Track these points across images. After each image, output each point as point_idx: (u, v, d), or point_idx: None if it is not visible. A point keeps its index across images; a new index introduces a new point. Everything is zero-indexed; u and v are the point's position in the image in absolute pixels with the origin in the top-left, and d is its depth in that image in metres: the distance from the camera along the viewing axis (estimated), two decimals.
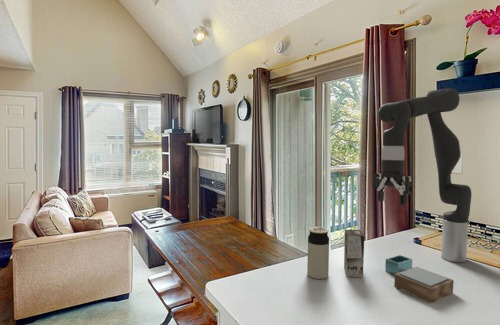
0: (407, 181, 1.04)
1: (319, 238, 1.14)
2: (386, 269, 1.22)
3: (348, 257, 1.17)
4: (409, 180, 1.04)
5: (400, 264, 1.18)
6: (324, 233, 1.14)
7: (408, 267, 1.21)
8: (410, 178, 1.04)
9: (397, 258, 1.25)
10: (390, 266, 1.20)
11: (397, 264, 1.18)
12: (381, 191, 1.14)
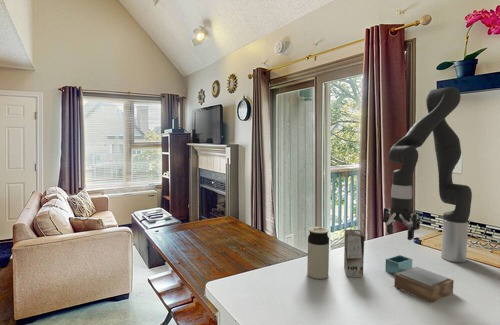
0: (415, 219, 1.15)
1: (319, 238, 1.14)
2: (386, 269, 1.22)
3: (348, 257, 1.17)
4: (416, 218, 1.15)
5: (400, 264, 1.18)
6: (324, 233, 1.14)
7: (408, 267, 1.21)
8: (417, 216, 1.15)
9: (397, 258, 1.25)
10: (390, 266, 1.20)
11: (397, 264, 1.18)
12: (390, 225, 1.25)
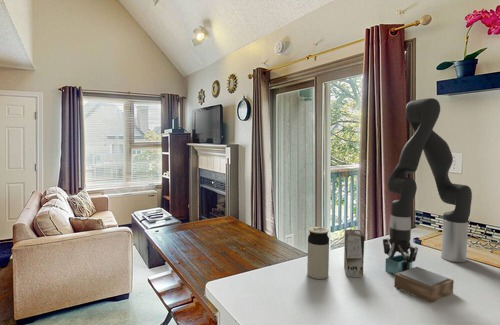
0: (412, 252, 1.16)
1: (319, 238, 1.14)
2: (386, 269, 1.22)
3: (348, 257, 1.17)
4: (414, 252, 1.16)
5: (400, 264, 1.18)
6: (324, 233, 1.14)
7: None
8: (416, 250, 1.16)
9: (397, 258, 1.25)
10: (390, 266, 1.20)
11: (397, 264, 1.18)
12: None
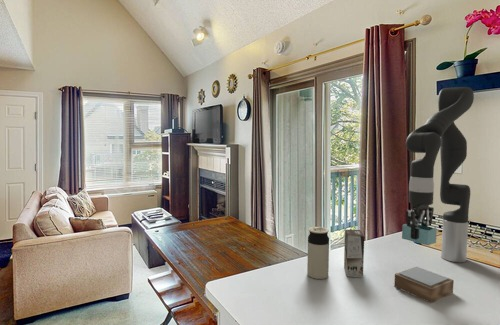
0: None
1: (319, 238, 1.14)
2: None
3: (348, 257, 1.17)
4: (408, 214, 1.04)
5: (406, 227, 1.09)
6: (324, 233, 1.14)
7: (420, 237, 1.04)
8: (409, 213, 1.03)
9: (428, 229, 1.07)
10: None
11: None
12: None
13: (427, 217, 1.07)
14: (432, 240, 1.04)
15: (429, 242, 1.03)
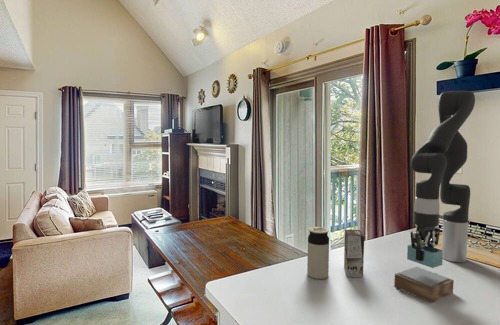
0: None
1: (319, 238, 1.14)
2: None
3: (348, 257, 1.17)
4: (412, 236, 1.03)
5: (411, 248, 1.07)
6: (324, 233, 1.14)
7: (425, 259, 1.03)
8: (414, 235, 1.02)
9: (434, 251, 1.05)
10: None
11: None
12: None
13: (433, 238, 1.05)
14: (438, 262, 1.02)
15: (434, 265, 1.01)
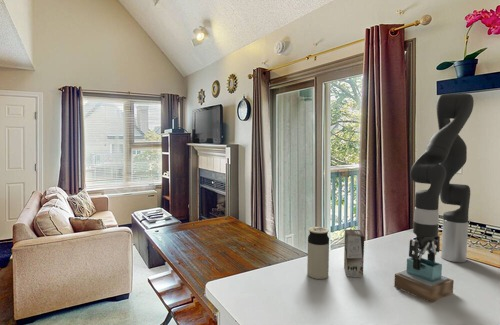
0: None
1: (319, 238, 1.14)
2: None
3: (348, 257, 1.17)
4: (411, 244, 1.03)
5: (410, 261, 1.08)
6: (324, 233, 1.14)
7: (425, 273, 1.03)
8: (413, 242, 1.02)
9: (433, 264, 1.05)
10: None
11: None
12: (430, 254, 1.08)
13: (433, 248, 1.05)
14: (437, 276, 1.03)
15: (434, 279, 1.02)
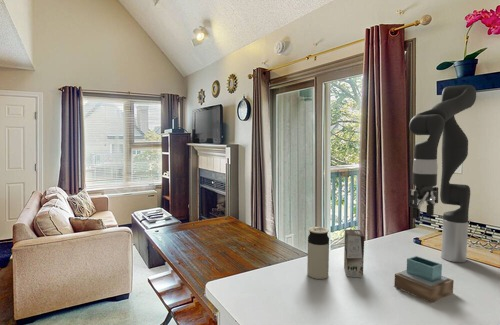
0: None
1: (319, 238, 1.14)
2: None
3: (348, 257, 1.17)
4: (411, 193, 1.05)
5: (410, 261, 1.08)
6: (324, 233, 1.14)
7: (425, 273, 1.03)
8: (413, 192, 1.05)
9: (433, 264, 1.05)
10: None
11: None
12: (429, 205, 1.11)
13: (432, 198, 1.08)
14: (437, 276, 1.03)
15: (434, 279, 1.02)
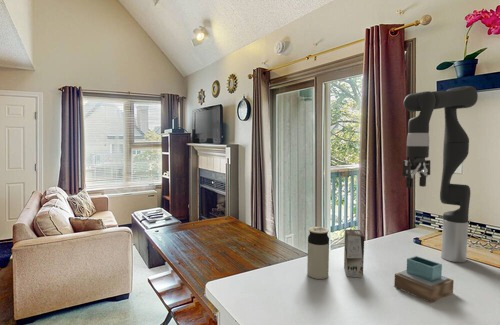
0: None
1: (319, 238, 1.14)
2: None
3: (348, 257, 1.17)
4: (405, 164, 1.15)
5: (410, 261, 1.08)
6: (324, 233, 1.14)
7: (425, 273, 1.03)
8: (406, 162, 1.14)
9: (433, 264, 1.05)
10: None
11: None
12: (421, 176, 1.20)
13: (424, 169, 1.17)
14: (437, 276, 1.03)
15: (434, 279, 1.02)
